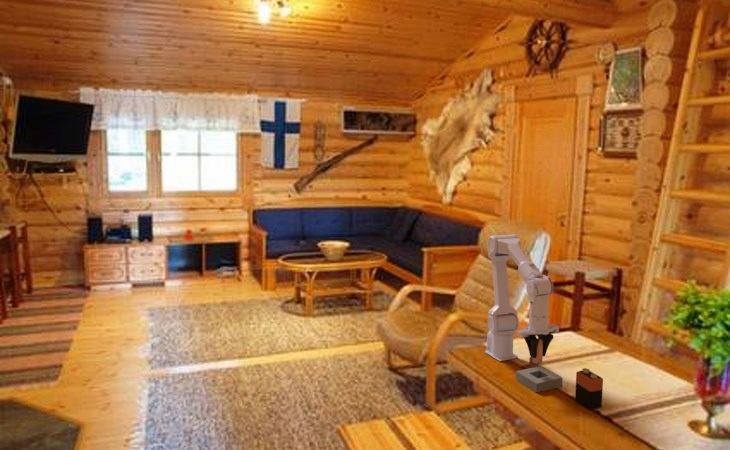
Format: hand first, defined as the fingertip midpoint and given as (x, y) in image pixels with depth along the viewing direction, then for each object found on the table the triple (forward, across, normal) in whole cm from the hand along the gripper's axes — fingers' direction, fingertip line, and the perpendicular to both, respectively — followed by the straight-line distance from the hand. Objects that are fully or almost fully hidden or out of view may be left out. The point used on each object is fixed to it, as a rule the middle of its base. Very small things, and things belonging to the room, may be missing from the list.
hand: (537, 356), depth 176 cm
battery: (+9, +4, -17) cm, 20 cm away
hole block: (+9, 0, 0) cm, 9 cm away
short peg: (+9, +6, +9) cm, 14 cm away
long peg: (+2, 0, 0) cm, 2 cm away
